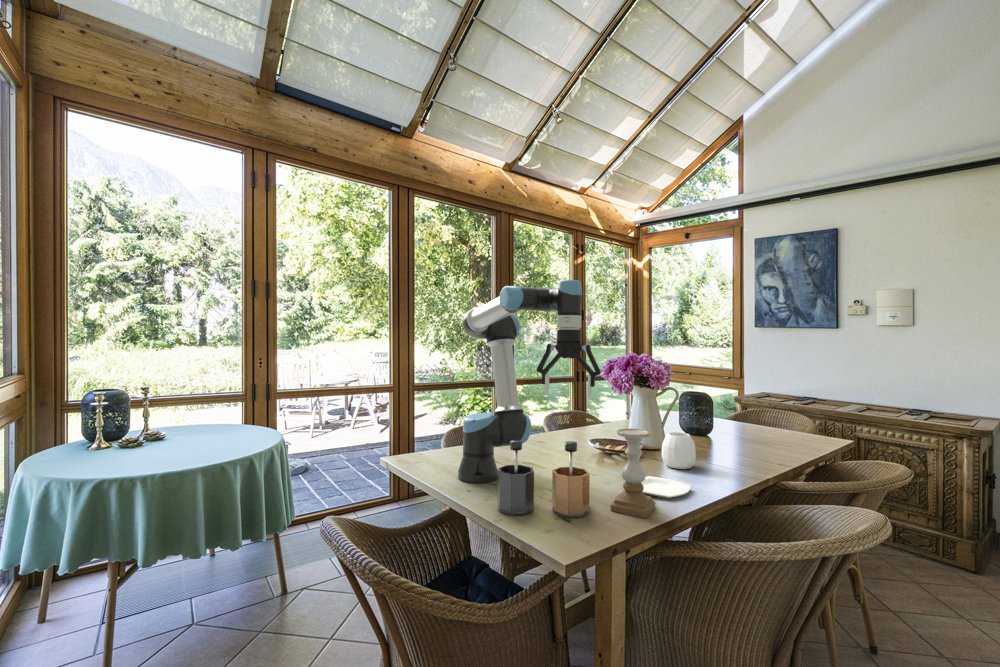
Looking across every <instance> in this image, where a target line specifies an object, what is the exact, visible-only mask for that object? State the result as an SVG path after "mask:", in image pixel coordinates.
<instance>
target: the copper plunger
mask: <svg viewBox="0 0 1000 667" xmlns="http://www.w3.org/2000/svg"><path fill="white" fill-rule="evenodd" d="M564 451H565V452H567V453H568V452H569V460H568V461H569V464H568V467H569V476H572V467H573V453H576V452H577V451H578V443H577V441H571V440H569V441H565V442H564Z"/></svg>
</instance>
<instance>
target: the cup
mask: <svg viewBox="0 0 1000 667" xmlns="http://www.w3.org/2000/svg"><path fill="white" fill-rule="evenodd" d="M696 454H697V450H696V444H695V442H694V439H693V438H692V436H691V434H690V433H686V432H680V431H679V432H678V431H672V432H670V431H669V432H667V433H666V435H665V437H664V439H663V441H662V444H661V459H662V462H663V463H664V464H665V465H666V466H667V467H668V468H673V469H677V470H687V469H690V468H692V467H694V464H695V462H696V458H697V457H696Z"/></svg>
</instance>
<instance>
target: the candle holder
mask: <svg viewBox="0 0 1000 667" xmlns="http://www.w3.org/2000/svg"><path fill="white" fill-rule="evenodd" d="M616 434H617V436H621V437H622V438H623V437H624V439H625V441H626V443H627V447H626V449H625V450H624V454H626V457H627V461H626V463H625V465H624V466H623V468H622V470H621V472H620V476H621V478H622V480H624V481H625V482H624V483H623V484H622V487H623V490H624V491H622V492H620V493H618V495H617V496H616V497H615V498H614V500H613V502H612V503H611V504H610V511H611V512H614V513H618V514H622V515H627V516H633V517H637V518H641V517H642V518H643V519H647V518H648V517H650V515H651V514H652V513H653V511H654V510H655V509H656V502H655V500H653V496H651V495H647V494H645V493H642V491H643V489H644V487H643V485H642V484H641V482H643V481H644V480H645V478H646V477H647V476H646V471H645V470H644V467H642V465H641V462H640V458H641V456H642V455H643V451H642V450H641V447H640V445H641V443H642V442H643V440H644V439H646V438H650V437H651V436H652V433H651V431H649V430H645V429H642V428H641V429H640V428H620V429H617V430H616ZM654 508H655V509H654ZM651 512H652V513H651Z"/></svg>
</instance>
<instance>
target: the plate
mask: <svg viewBox="0 0 1000 667" xmlns="http://www.w3.org/2000/svg"><path fill="white" fill-rule="evenodd" d="M641 484H642V485H643V487H644V489H643V491H642V493H643V494H645V495H647V496H651V497H656V496H657V497H656V498H661V497H662V499H672V497H673V498H677V497H681V496H683V495H686V494H688V493H689V492H690V491H691V488H692V485H689V484H687V483H684V482H680V481H677V480H674V479H669V478H663V477H658V476H651V475H648V476H646V478H645V480H644V481H643V482H641Z"/></svg>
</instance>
